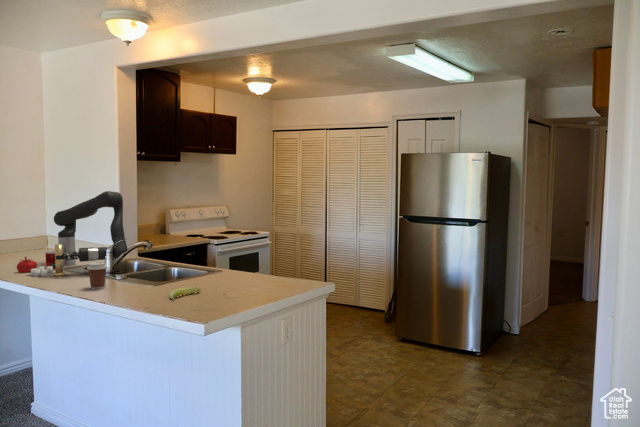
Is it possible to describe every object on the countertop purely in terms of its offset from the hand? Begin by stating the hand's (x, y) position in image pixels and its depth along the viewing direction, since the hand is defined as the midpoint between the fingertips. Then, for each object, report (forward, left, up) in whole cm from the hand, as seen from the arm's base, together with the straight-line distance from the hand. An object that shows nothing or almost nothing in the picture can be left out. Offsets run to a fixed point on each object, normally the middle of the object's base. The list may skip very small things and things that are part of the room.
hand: (55, 256), depth 267 cm
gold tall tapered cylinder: (+1, +1, -11) cm, 11 cm away
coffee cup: (+39, -7, -12) cm, 41 cm away
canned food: (-21, +14, -12) cm, 28 cm away
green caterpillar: (+89, -3, -12) cm, 90 cm away
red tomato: (-27, +2, -12) cm, 30 cm away
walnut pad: (+1, +1, -12) cm, 12 cm away
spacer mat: (-10, 0, -12) cm, 15 cm away
